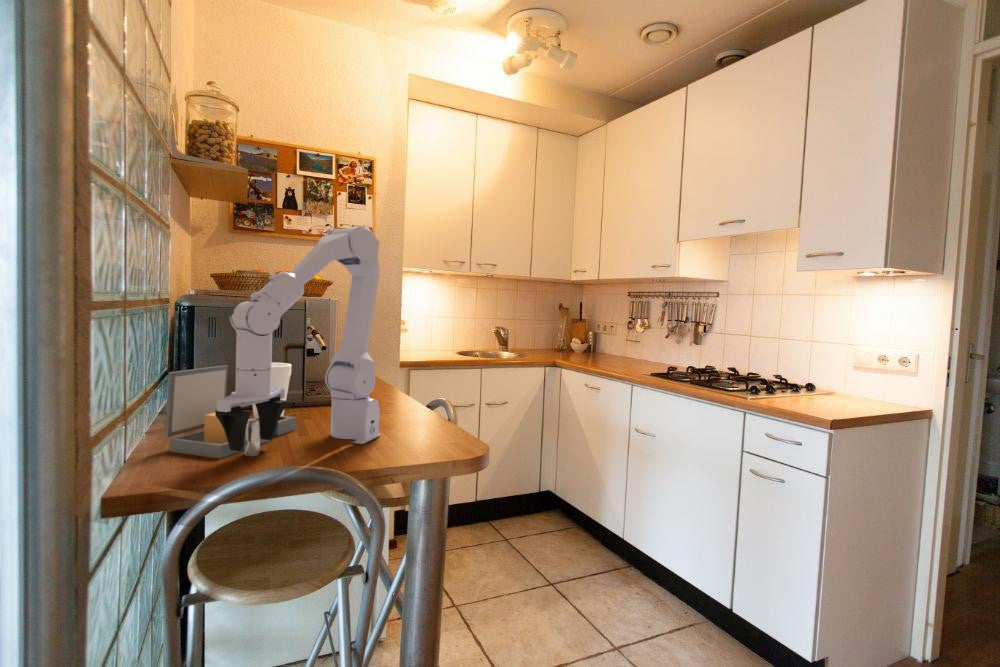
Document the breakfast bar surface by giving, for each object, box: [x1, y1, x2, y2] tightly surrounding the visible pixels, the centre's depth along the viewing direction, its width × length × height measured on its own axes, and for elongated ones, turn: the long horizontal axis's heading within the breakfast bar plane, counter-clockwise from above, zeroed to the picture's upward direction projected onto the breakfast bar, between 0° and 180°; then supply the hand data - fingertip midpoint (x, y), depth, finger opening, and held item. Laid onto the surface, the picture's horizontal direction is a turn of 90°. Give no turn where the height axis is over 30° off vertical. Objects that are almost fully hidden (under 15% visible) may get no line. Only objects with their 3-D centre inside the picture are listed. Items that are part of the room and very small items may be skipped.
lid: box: [164, 364, 229, 438], centre depth 95 cm, size 12×13×1 cm
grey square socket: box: [274, 415, 297, 437], centre depth 106 cm, size 6×6×4 cm
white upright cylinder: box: [244, 417, 261, 457], centre depth 90 cm, size 2×2×7 cm
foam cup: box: [252, 362, 292, 419], centre depth 120 cm, size 10×9×13 cm
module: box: [203, 413, 228, 444], centre depth 94 cm, size 4×4×6 cm
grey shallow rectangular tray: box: [168, 429, 272, 460], centre depth 94 cm, size 11×13×3 cm
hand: (252, 444), depth 90 cm, fingers open, 7 cm apart
